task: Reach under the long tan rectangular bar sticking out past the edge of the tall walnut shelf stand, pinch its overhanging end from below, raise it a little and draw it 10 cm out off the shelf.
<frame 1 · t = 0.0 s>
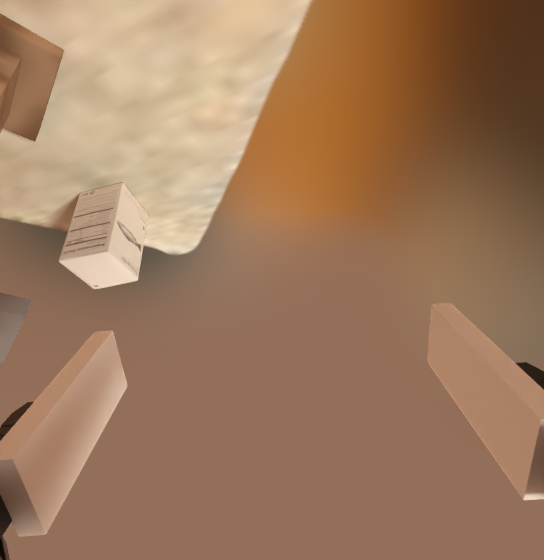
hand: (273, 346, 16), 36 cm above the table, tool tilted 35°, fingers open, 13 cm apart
supplement box: (115, 202, 58), on the table
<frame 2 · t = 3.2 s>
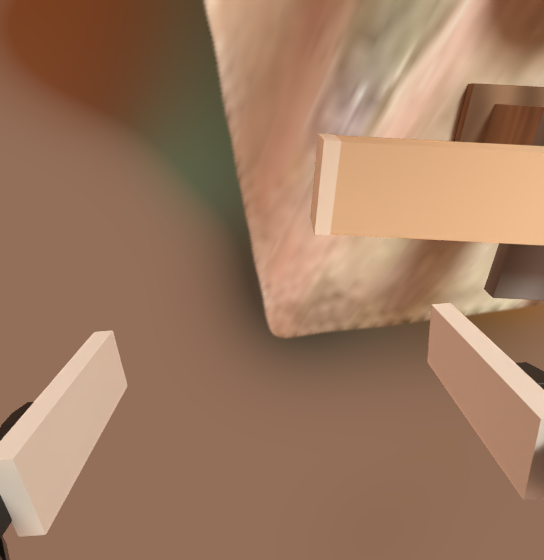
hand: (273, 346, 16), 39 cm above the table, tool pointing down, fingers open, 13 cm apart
shelf stand: (502, 139, 48), on the table
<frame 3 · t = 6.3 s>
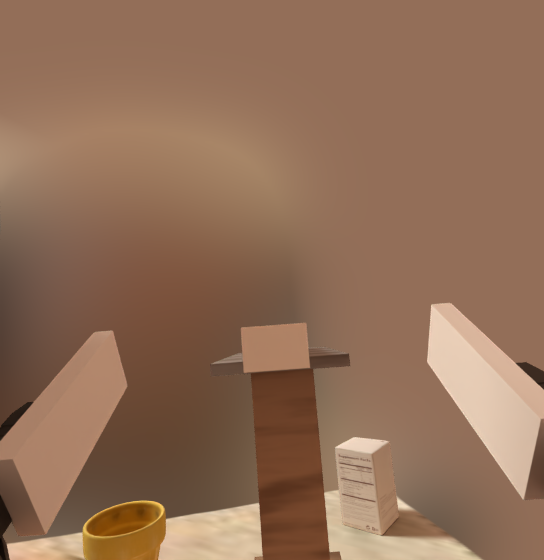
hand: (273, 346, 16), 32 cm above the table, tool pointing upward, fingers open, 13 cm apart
tan rectangular bar: (280, 356, 43), point 30 cm above the table, touching shelf stand
supplement box: (370, 522, 65), on the table
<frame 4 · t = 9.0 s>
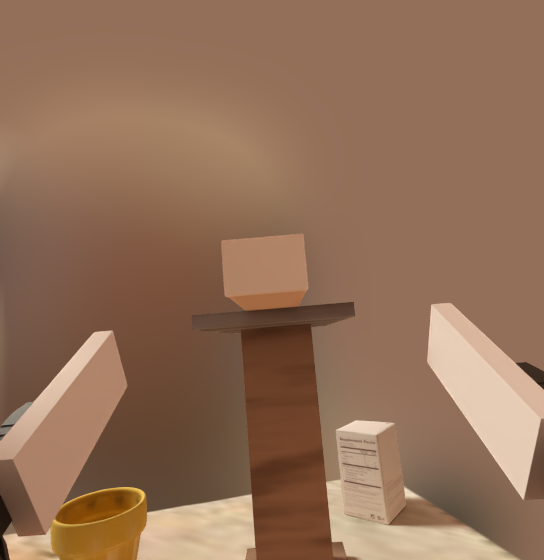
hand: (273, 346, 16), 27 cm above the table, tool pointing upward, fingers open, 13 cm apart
tan rectangular bar: (273, 312, 38), point 30 cm above the table, touching shelf stand
supplement box: (375, 512, 59), on the table
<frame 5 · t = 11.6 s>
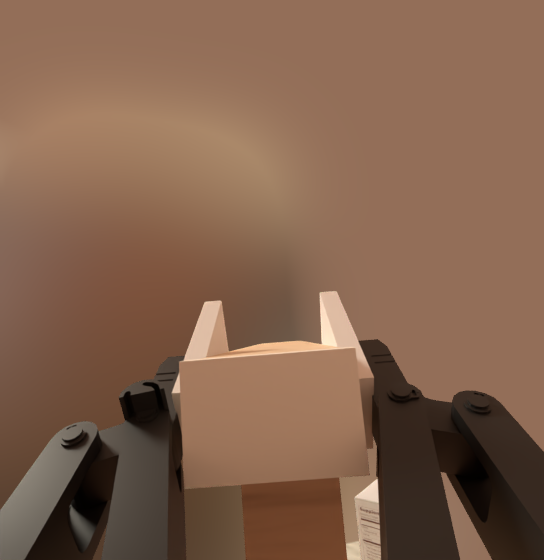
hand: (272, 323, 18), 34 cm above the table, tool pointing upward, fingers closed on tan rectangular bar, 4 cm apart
tan rectangular bar: (281, 388, 26), point 30 cm above the table, touching gripper
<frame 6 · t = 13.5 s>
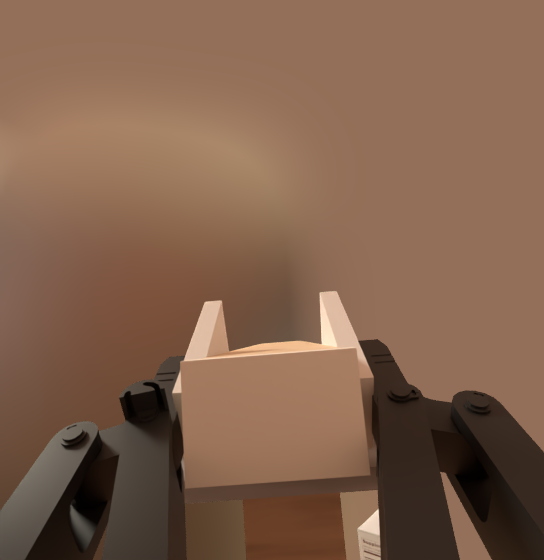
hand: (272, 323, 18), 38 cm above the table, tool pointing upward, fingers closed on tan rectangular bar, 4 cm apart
tan rectangular bar: (281, 388, 26), point 34 cm above the table, touching gripper
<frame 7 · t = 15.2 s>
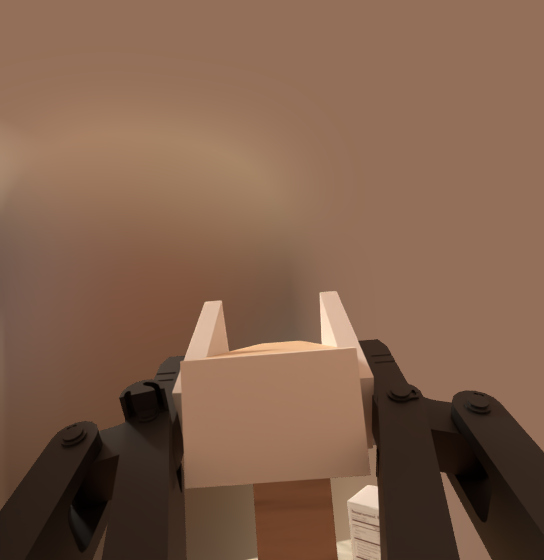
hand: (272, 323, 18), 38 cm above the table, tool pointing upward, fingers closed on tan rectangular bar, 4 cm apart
tan rectangular bar: (281, 388, 26), point 34 cm above the table, touching gripper
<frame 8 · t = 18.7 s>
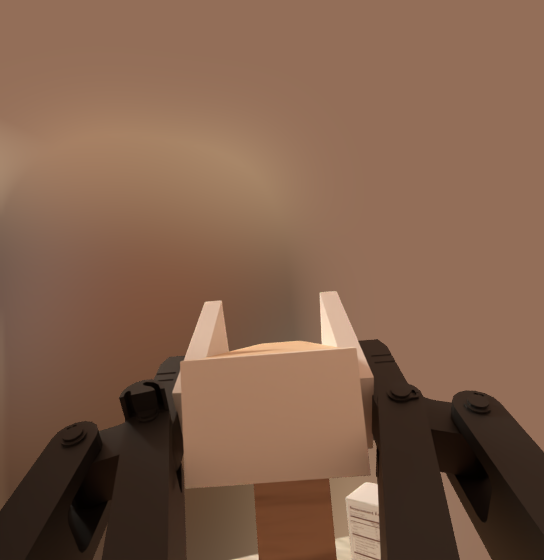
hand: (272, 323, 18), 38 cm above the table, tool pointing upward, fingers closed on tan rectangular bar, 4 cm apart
tan rectangular bar: (281, 388, 26), point 34 cm above the table, touching gripper
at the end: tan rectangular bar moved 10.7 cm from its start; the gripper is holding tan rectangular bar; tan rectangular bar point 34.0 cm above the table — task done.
